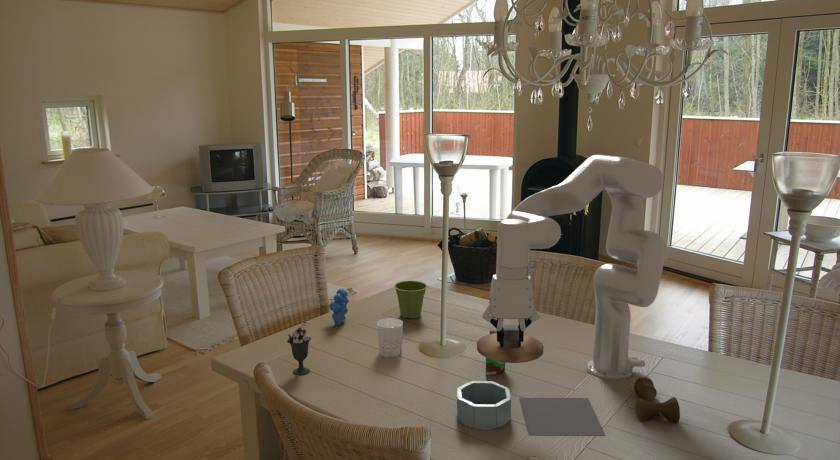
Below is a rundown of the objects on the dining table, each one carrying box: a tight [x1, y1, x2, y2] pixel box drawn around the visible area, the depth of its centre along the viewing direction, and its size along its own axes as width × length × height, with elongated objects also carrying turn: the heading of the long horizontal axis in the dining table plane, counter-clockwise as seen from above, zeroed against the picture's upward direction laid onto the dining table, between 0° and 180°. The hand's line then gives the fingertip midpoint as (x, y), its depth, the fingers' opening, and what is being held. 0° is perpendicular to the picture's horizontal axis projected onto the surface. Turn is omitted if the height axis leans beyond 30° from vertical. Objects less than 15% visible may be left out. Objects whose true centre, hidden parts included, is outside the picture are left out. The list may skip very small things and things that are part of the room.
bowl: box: [456, 380, 512, 430], centre depth 158 cm, size 13×13×6 cm
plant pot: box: [393, 280, 428, 320], centre depth 227 cm, size 12×12×11 cm
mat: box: [519, 397, 606, 437], centre depth 159 cm, size 18×18×1 cm
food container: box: [485, 330, 506, 377], centre depth 183 cm, size 12×6×10 cm, turn 168°
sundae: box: [286, 321, 312, 377], centre depth 183 cm, size 7×7×15 cm
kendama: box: [633, 377, 681, 424], centre depth 160 cm, size 6×10×20 cm
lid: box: [476, 324, 544, 364], centre depth 154 cm, size 16×16×6 cm
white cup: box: [376, 317, 404, 358], centre depth 196 cm, size 8×8×10 cm
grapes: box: [328, 288, 350, 326], centre depth 221 cm, size 12×7×12 cm, turn 167°
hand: (509, 343), depth 154 cm, fingers closed on lid, 3 cm apart
